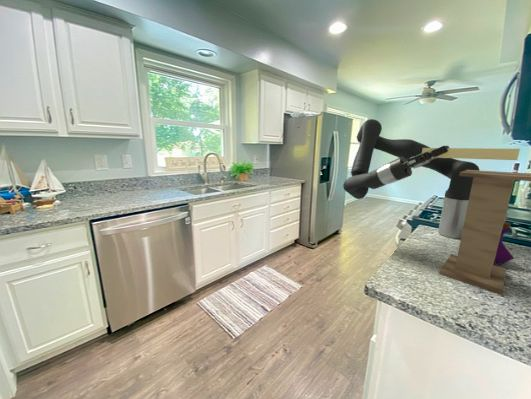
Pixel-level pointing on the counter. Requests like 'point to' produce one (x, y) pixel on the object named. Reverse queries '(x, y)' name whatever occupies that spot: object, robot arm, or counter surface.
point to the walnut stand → (483, 230)
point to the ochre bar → (478, 153)
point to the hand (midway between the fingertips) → (447, 148)
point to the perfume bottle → (502, 252)
